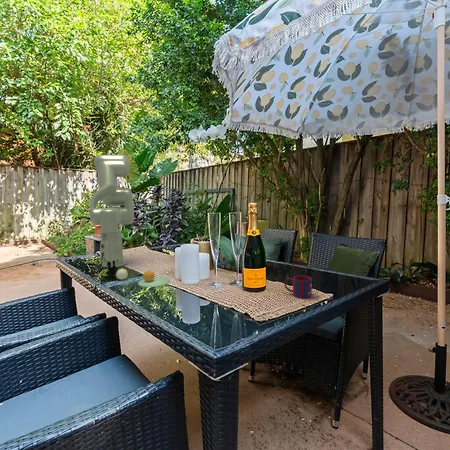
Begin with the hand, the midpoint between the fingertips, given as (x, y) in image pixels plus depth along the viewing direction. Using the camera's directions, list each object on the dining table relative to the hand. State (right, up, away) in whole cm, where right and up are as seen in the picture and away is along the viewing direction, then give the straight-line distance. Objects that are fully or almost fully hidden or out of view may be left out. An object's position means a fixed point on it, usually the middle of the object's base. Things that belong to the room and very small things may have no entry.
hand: (112, 274), depth 144 cm
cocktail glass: (+65, +1, +8) cm, 66 cm away
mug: (+80, -3, -29) cm, 85 cm away
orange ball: (+19, +1, -7) cm, 20 cm away
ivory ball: (+6, +1, -3) cm, 6 cm away
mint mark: (+22, -2, -8) cm, 23 cm away
